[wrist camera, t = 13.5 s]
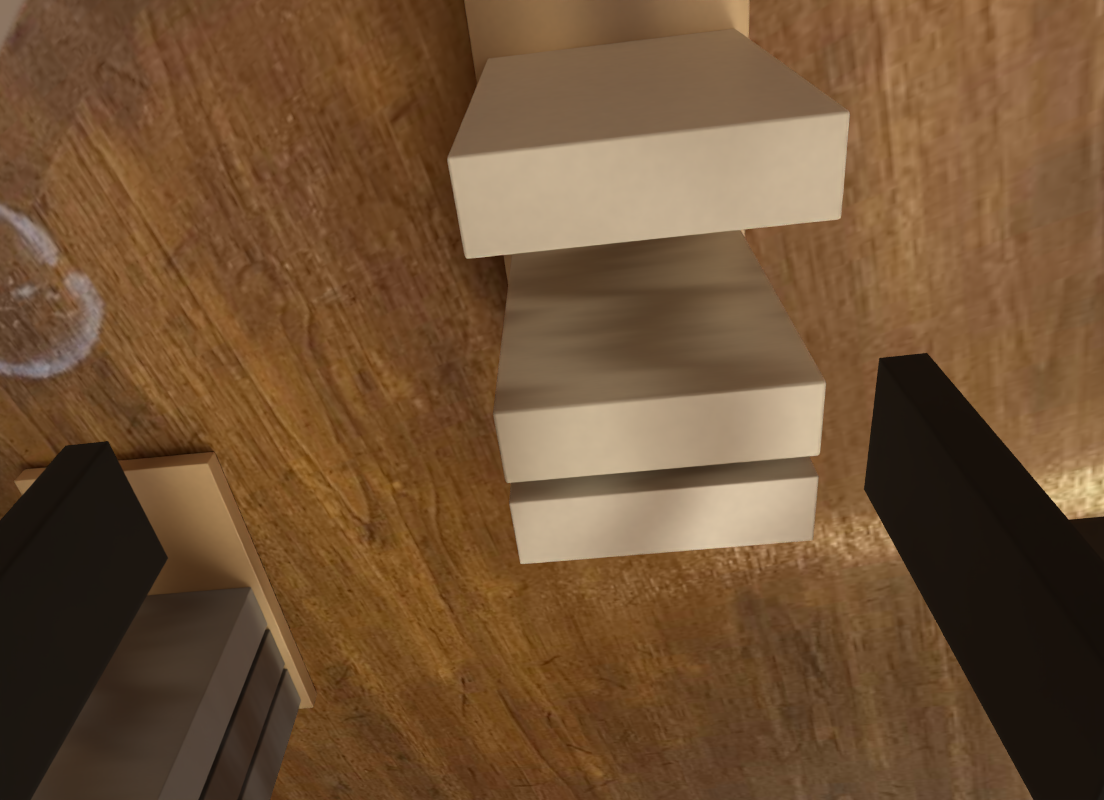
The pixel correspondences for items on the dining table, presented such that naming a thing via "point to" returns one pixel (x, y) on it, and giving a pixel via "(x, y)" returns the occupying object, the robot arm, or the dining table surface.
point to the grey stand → (189, 660)
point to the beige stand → (646, 356)
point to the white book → (643, 145)
